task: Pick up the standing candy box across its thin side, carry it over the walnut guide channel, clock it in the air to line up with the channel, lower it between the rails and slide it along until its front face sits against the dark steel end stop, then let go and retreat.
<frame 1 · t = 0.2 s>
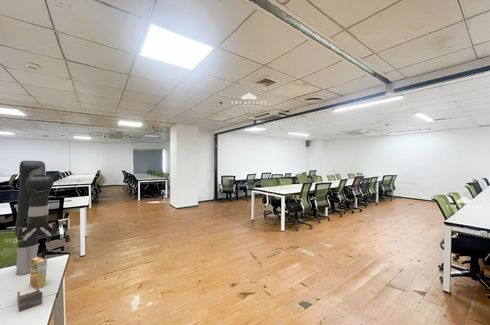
hand: (36, 245, 110), 28 cm above the table, fingers open, 8 cm apart
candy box: (37, 285, 122), on the table
cradle: (29, 301, 108), on the table
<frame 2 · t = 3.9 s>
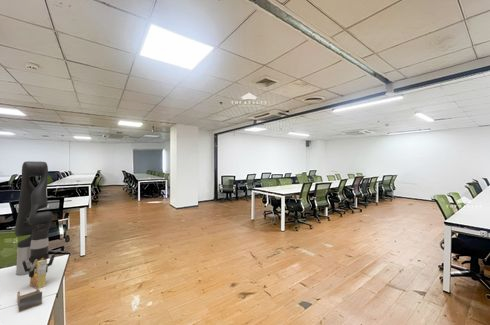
hand: (38, 275, 122), 6 cm above the table, fingers closed on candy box, 5 cm apart
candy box: (37, 285, 122), on the table, touching gripper
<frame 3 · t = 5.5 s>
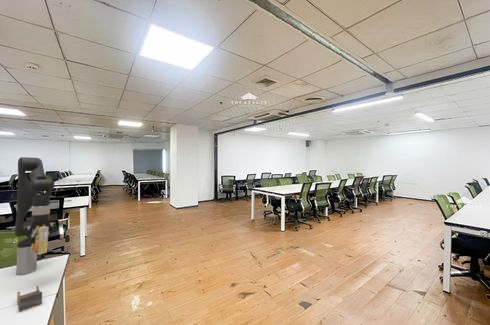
hand: (39, 242, 122), 25 cm above the table, fingers closed on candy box, 5 cm apart
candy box: (39, 252, 122), point 19 cm above the table, touching gripper
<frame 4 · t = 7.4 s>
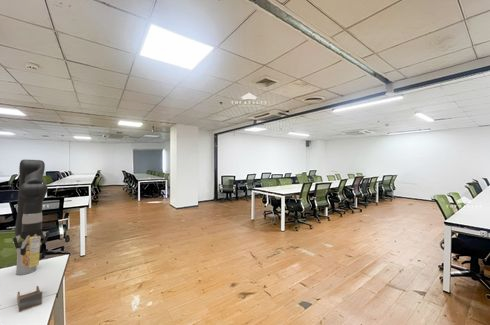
hand: (30, 253, 110), 24 cm above the table, fingers closed on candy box, 5 cm apart
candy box: (30, 265, 110), point 18 cm above the table, touching gripper
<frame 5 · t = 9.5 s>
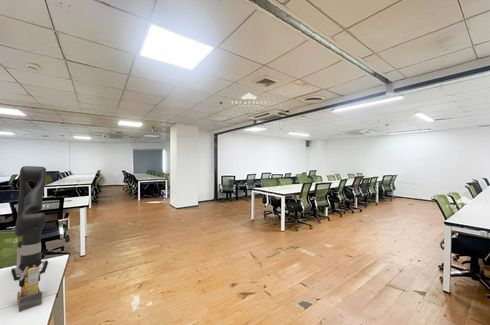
hand: (29, 284, 109), 8 cm above the table, fingers closed on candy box, 5 cm apart
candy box: (29, 296, 109), point 2 cm above the table, touching gripper
when the fingers open (8 cm above the table, at t = 11.4 s): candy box stays where it is, resting on cradle.
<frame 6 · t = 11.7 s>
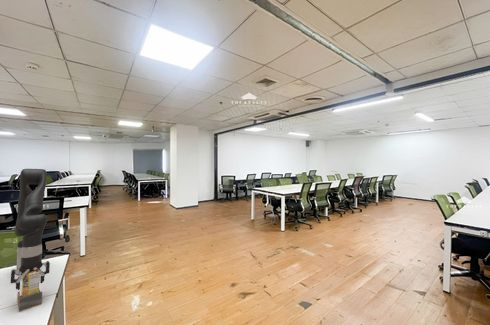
hand: (30, 286, 107), 8 cm above the table, fingers open, 7 cm apart
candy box: (29, 301, 107), point 1 cm above the table, touching cradle
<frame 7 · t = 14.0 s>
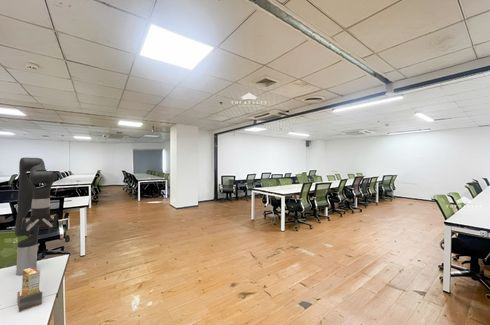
hand: (39, 235, 118), 31 cm above the table, fingers open, 8 cm apart
nothing on the table moved.
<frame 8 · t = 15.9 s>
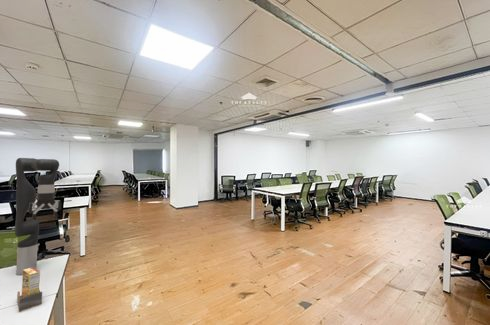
hand: (45, 218, 126), 38 cm above the table, fingers open, 8 cm apart
nothing on the table moved.
at the end: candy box 0.1 cm from the target spot on the cradle, point 0.8 cm above the cradle's base; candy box tilted 0°; the gripper is holding nothing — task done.
